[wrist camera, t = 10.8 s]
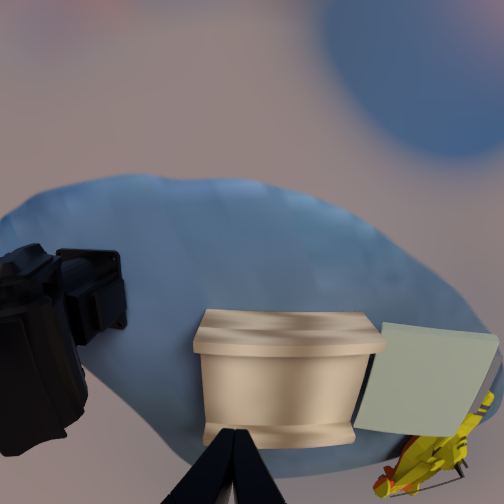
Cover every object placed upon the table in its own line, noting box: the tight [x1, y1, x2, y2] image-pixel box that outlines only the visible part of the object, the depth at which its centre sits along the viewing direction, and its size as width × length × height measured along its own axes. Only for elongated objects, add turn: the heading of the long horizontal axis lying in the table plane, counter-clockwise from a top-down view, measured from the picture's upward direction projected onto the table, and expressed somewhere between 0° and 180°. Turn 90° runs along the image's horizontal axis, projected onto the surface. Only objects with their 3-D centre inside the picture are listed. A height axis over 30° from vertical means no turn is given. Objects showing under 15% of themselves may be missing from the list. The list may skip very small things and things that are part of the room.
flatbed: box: [193, 309, 387, 449], centre depth 19 cm, size 12×11×5 cm
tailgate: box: [353, 322, 503, 437], centre depth 17 cm, size 2×10×12 cm
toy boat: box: [373, 391, 494, 498], centre depth 19 cm, size 6×18×10 cm, turn 153°
